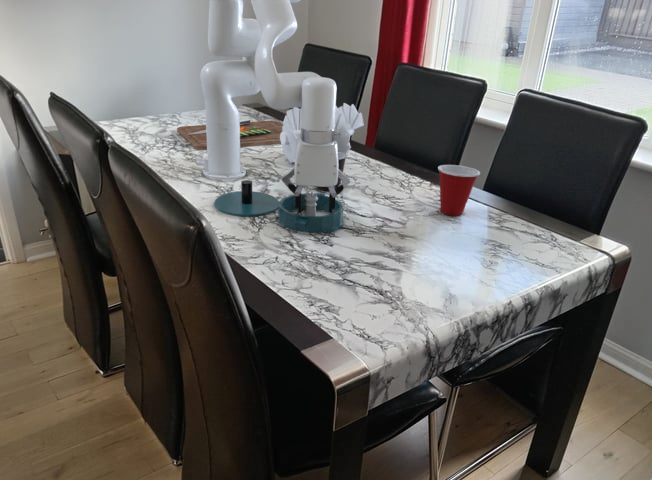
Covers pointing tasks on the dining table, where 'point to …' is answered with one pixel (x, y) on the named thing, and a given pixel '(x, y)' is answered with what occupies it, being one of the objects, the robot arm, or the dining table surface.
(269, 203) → the lid
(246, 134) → the chopping board
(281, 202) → the pot
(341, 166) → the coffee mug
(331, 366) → the dining table surface
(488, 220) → the dining table surface
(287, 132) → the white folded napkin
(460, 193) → the plastic cup
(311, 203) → the rook chess piece
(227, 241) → the dining table surface
